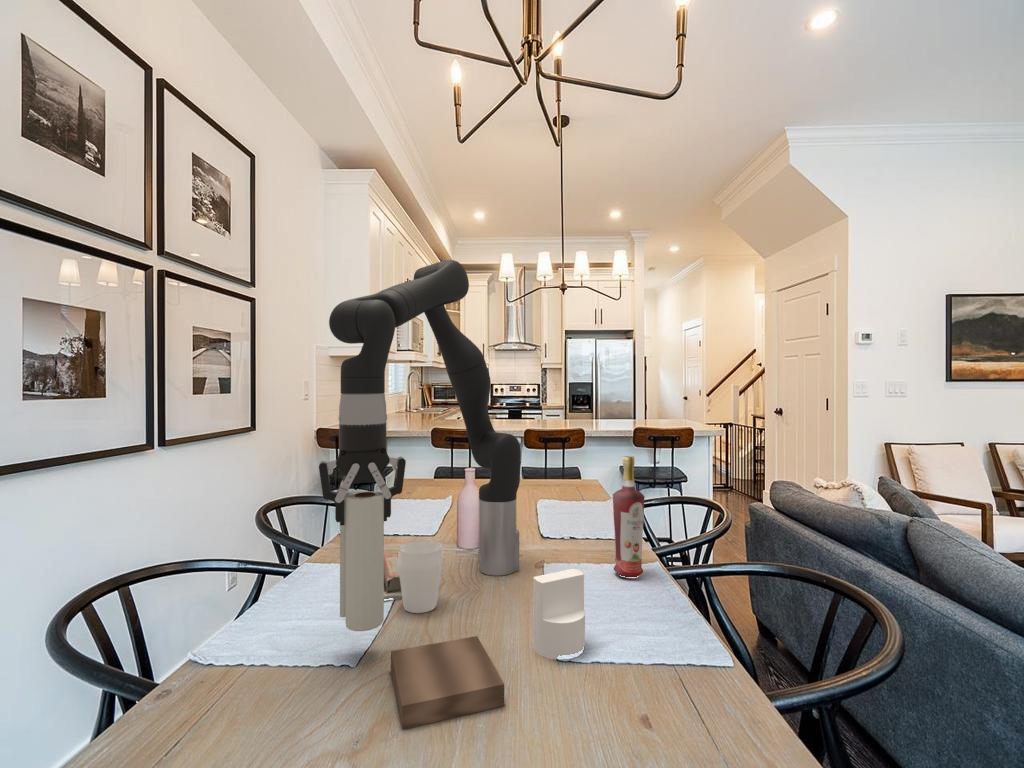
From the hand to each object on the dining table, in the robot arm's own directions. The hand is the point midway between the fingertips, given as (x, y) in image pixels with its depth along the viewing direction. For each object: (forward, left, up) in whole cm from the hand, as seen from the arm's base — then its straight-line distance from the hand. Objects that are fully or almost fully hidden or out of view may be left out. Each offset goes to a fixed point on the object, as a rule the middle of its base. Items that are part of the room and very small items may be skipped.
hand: (363, 521), depth 81 cm
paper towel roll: (0, 0, -17) cm, 17 cm away
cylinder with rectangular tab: (-32, +8, -22) cm, 40 cm away
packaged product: (-9, -28, -23) cm, 38 cm away
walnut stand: (-11, +13, -22) cm, 28 cm away
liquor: (-61, -15, -22) cm, 67 cm away
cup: (-12, -15, -22) cm, 29 cm away
